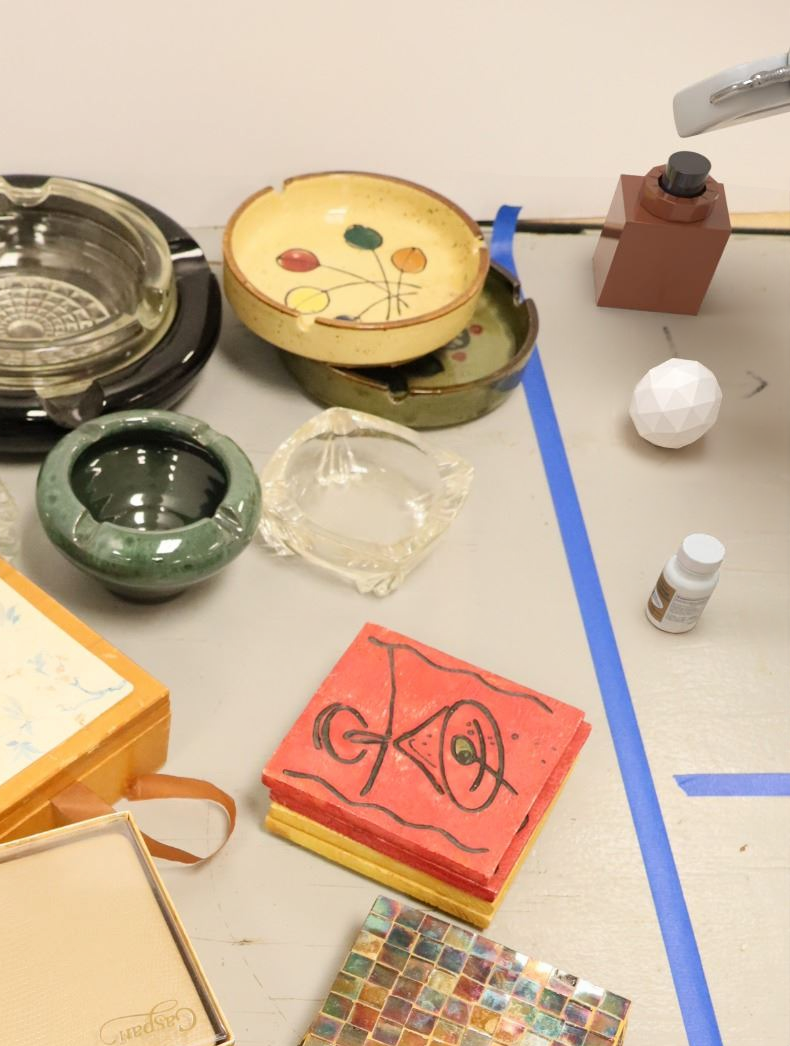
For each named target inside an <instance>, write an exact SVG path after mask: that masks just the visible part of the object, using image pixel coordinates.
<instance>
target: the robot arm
mask: <svg viewBox="0 0 790 1046" xmlns="http://www.w3.org/2000/svg"><path fill="white" fill-rule="evenodd" d="M787 51H788V52H785V53H784V52H783V53H781V54H777V55H772V56H769V57H768V56H767V57H764V58H759V59H756V60H752V61H748V62H744V63H741V64H738V65H735V66H733V67H730V68H727V69H725V70H722V71H720V72H718V73H715V74H713V75H711V76H708V77H706V78H704V79H702V80H700V81H698V82H696V83H694V84H692V85H689V86H686V87H685V88H683V89H680V90H679V91H678V92H676V94H674V97H673V99H672V111H673V119H674V124H675V129H676V132H677V135H678V136H679V138H682V139H687V138H691V137H695V136H699V135H703V134H707V133H710V132H714V131H715V132H716V131H719V130H723V129H727V128H730V127H735V126H738V125H742V124H747V123H750V122H755V121H759V120H763V119H766V118H770V117H774V116H778V115H782V114H786V113H790V47H789V49H788V50H787Z"/></svg>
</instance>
